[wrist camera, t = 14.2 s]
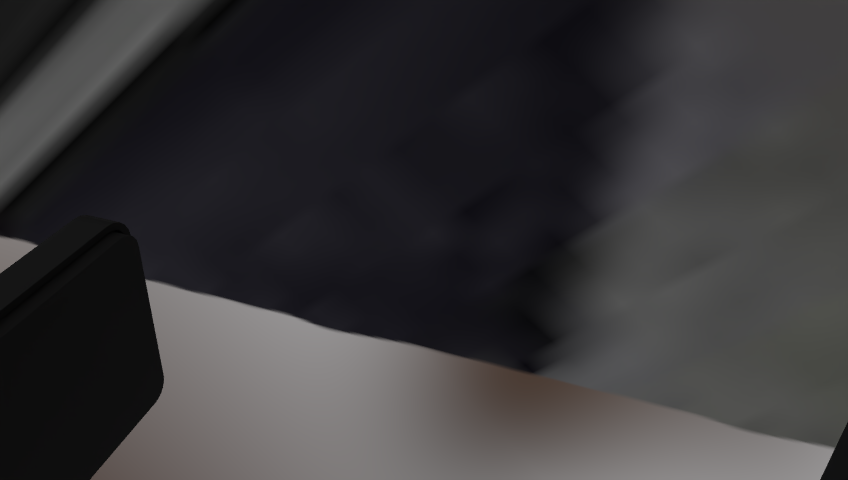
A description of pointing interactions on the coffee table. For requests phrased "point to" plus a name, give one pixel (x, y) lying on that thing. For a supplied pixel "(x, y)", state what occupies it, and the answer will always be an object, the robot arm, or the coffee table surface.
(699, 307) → the coffee table surface
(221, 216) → the coffee table surface
